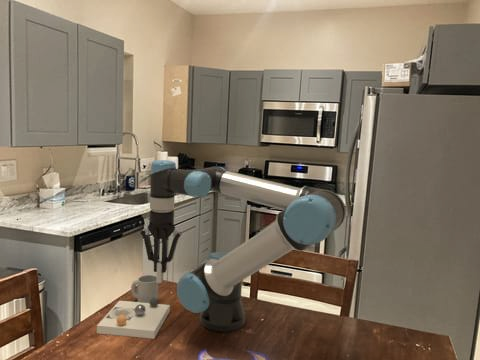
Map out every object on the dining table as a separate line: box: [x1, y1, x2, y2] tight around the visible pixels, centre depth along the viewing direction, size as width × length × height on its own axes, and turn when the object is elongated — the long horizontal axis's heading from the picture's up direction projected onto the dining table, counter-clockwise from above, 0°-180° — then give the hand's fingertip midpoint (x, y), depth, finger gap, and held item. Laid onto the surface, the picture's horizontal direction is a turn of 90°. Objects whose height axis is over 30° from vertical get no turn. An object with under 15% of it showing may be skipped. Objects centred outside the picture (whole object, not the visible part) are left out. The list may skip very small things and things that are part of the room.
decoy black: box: [149, 298, 159, 307], centre depth 138 cm, size 3×3×3 cm
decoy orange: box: [117, 315, 127, 325], centre depth 125 cm, size 3×3×3 cm
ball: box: [135, 304, 146, 316], centre depth 132 cm, size 4×4×4 cm
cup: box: [130, 274, 159, 303], centre depth 147 cm, size 7×10×9 cm
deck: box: [96, 300, 171, 340], centre depth 132 cm, size 18×18×2 cm
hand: (159, 281), depth 130 cm, fingers closed
